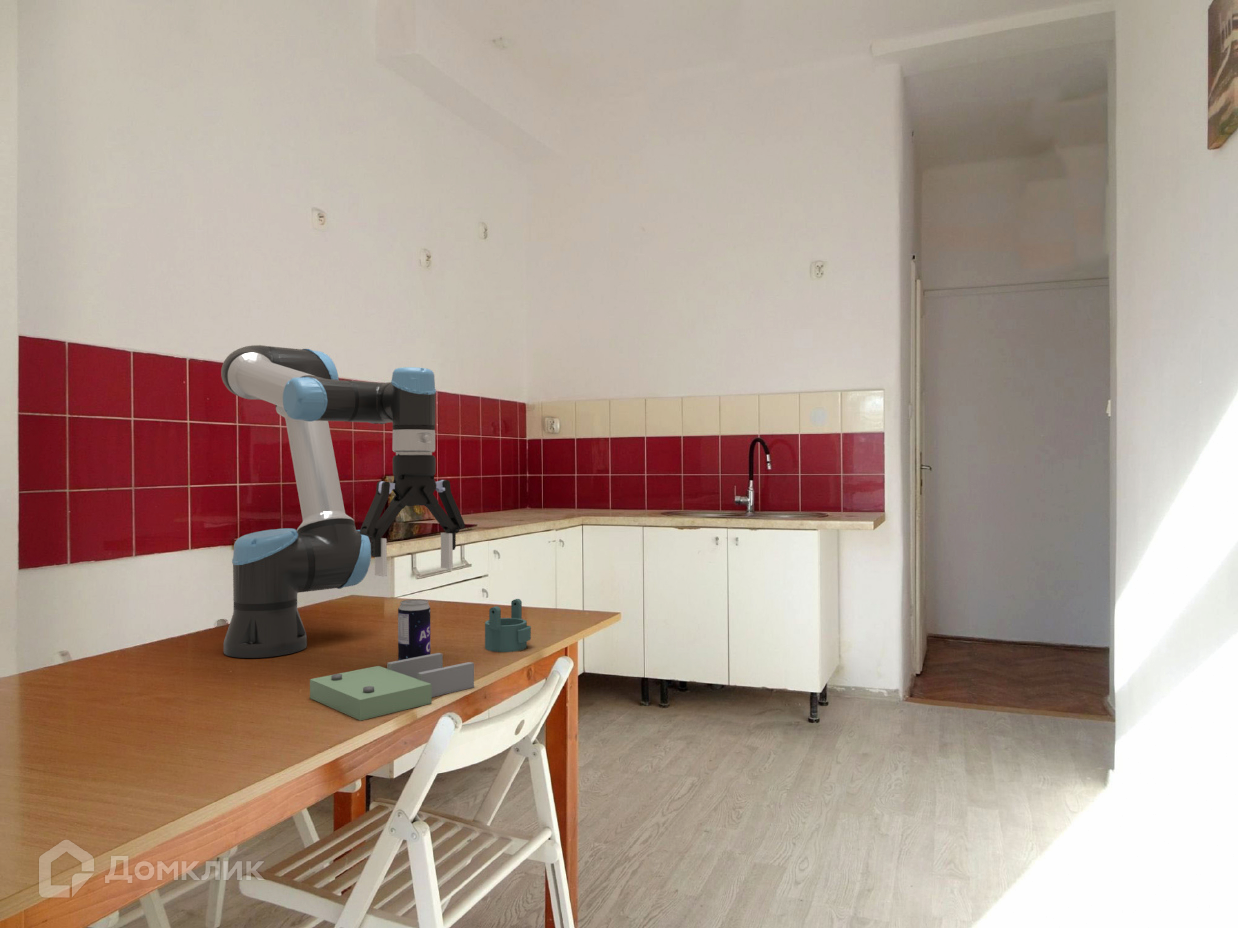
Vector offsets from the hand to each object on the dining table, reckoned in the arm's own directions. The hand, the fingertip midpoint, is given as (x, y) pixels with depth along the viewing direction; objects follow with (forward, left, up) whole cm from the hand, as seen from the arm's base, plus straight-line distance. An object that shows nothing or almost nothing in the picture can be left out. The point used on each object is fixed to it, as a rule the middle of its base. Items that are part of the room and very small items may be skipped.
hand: (414, 571), depth 153 cm
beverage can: (0, 0, -18) cm, 18 cm away
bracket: (-1, +22, -18) cm, 28 cm away
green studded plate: (+13, -11, -17) cm, 24 cm away
